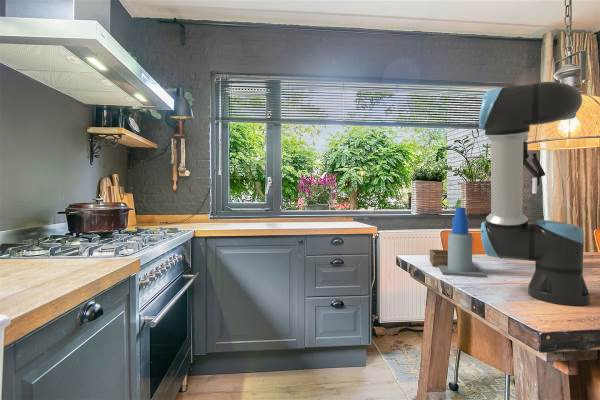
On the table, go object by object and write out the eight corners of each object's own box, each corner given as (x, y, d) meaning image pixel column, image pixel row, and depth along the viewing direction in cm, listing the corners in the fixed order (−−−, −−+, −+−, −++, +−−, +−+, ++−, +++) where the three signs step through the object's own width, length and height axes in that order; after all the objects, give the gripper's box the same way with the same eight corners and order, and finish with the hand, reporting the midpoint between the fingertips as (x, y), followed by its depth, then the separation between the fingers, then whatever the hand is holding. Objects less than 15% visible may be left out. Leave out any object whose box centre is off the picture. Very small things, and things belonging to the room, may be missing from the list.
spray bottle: (443, 269, 139) (444, 207, 138) (454, 266, 145) (455, 206, 144) (465, 273, 132) (466, 207, 132) (476, 269, 138) (477, 207, 137)
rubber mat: (485, 277, 130) (485, 274, 130) (442, 274, 134) (442, 272, 134) (477, 269, 143) (477, 267, 143) (438, 267, 147) (438, 265, 147)
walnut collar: (469, 268, 144) (470, 256, 144) (432, 266, 148) (433, 255, 148) (463, 261, 158) (463, 251, 158) (429, 260, 162) (429, 249, 162)
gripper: (547, 142, 143) (546, 193, 144) (481, 144, 150) (480, 193, 151) (555, 139, 136) (554, 193, 137) (485, 141, 143) (484, 193, 143)
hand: (515, 193), depth 144 cm, fingers open, 13 cm apart
